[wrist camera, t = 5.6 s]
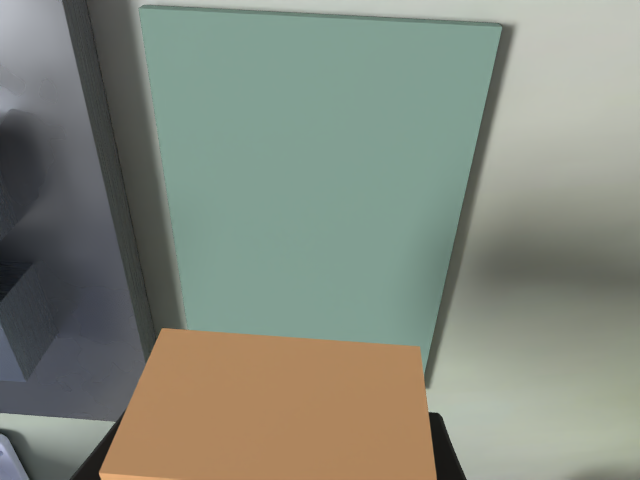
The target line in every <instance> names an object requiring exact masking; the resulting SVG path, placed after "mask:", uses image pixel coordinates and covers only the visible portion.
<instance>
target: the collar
mask: <svg viewBox="0 0 640 480" xmlns="http://www.w3.org/2000/svg"><path fill="white" fill-rule="evenodd" d="M99 475H100V478H101V480H437V476H436V468H435V461H434V453H433V445H432V437H431V429H430V421H429V413H428V405H427V398H426V390H425V382H424V374H423V366H422V358H421V350H420V346H408V345H394V344H380V343H366V342H352V341H338V340H323V339H309V338H295V337H281V336H267V335H253V334H239V333H225V332H211V331H197V330H183V329H168V328H162V329H161V331H160V333H159V336H158V338H157V340H156V343H155V345H154V347H153V350H152V352H151V354H150V356H149V359H148V361H147V363H146V366H145V368H144V370H143V373H142V375H141V377H140V379H139V382H138V384H137V386H136V389H135V391H134V393H133V395H132V398H131V400H130V402H129V405H128V407H127V409H126V412H125V414H124V416H123V418H122V421H121V423H120V425H119V428H118V430H117V432H116V434H115V437H114V439H113V441H112V444H111V446H110V448H109V451H108V453H107V455H106V457H105V460H104V462H103V464H102V467H101V469H100V471H99Z"/></svg>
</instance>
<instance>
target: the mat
mask: <svg viewBox="0 0 640 480" xmlns="http://www.w3.org/2000/svg"><path fill="white" fill-rule="evenodd" d="M139 15H140V21H141V28H142V34H143V41H144V47H145V54H146V60H147V67H148V73H149V80H150V86H151V93H152V100H153V106H154V113H155V119H156V126H157V132H158V139H159V145H160V152H161V158H162V165H163V171H164V178H165V184H166V191H167V197H168V204H169V210H170V217H171V223H172V230H173V236H174V243H175V249H176V256H177V262H178V269H179V275H180V282H181V288H182V295H183V301H184V308H185V314H186V321H187V328H188V330H197V331H211V332H225V333H239V334H253V335H267V336H281V337H295V338H309V339H323V340H338V341H352V342H366V343H380V344H394V345H408V346H420V350H421V358H422V366H423V374H424V373H425V369H426V364H427V360H428V355H429V351H430V346H431V342H432V337H433V333H434V329H435V324H436V320H437V315H438V311H439V306H440V302H441V297H442V293H443V289H444V284H445V280H446V275H447V271H448V266H449V262H450V257H451V253H452V249H453V244H454V240H455V235H456V231H457V226H458V222H459V217H460V213H461V209H462V204H463V200H464V195H465V191H466V186H467V182H468V178H469V173H470V169H471V164H472V160H473V155H474V151H475V146H476V142H477V138H478V133H479V129H480V124H481V120H482V115H483V111H484V106H485V102H486V98H487V93H488V89H489V84H490V80H491V75H492V71H493V66H494V62H495V58H496V53H497V49H498V44H499V40H500V35H501V31H502V26H501V25H500V24H499V23H484V22H465V21H445V20H426V19H406V18H387V17H368V16H348V15H329V14H309V13H290V12H271V11H251V10H232V9H213V8H193V7H174V6H154V5H143V6H141V7H140V8H139Z"/></svg>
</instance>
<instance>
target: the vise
mask: <svg viewBox="0 0 640 480" xmlns="http://www.w3.org/2000/svg"><path fill="white" fill-rule="evenodd" d="M155 343H156V339H155V334H154V329H153V324H152V319H151V314H150V310H149V305H148V300H147V295H146V290H145V285H144V280H143V276H142V271H141V266H140V261H139V256H138V251H137V246H136V242H135V237H134V232H133V227H132V222H131V217H130V212H129V208H128V203H127V198H126V193H125V188H124V183H123V178H122V174H121V169H120V164H119V159H118V154H117V149H116V145H115V140H114V135H113V130H112V125H111V120H110V115H109V111H108V106H107V101H106V96H105V91H104V86H103V81H102V77H101V72H100V67H99V62H98V57H97V52H96V47H95V43H94V38H93V33H92V28H91V23H90V18H89V13H88V9H87V4H86V0H0V413H9V414H22V415H35V416H48V417H62V418H75V419H88V420H101V421H114V422H116V421H117V420H118V419H119V417H120V416H121V415H122V413H123V412H124V411H125V409H126V408H127V407H128V405H129V402H130V400H131V398H132V395H133V393H134V391H135V389H136V386H137V384H138V382H139V379H140V377H141V375H142V373H143V370H144V368H145V366H146V363H147V361H148V359H149V356H150V354H151V352H152V350H153V347H154V345H155Z"/></svg>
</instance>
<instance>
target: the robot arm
mask: <svg viewBox="0 0 640 480" xmlns="http://www.w3.org/2000/svg"><path fill="white" fill-rule="evenodd" d="M126 409H127V408H126ZM126 409H125V411H124V412H123V413H122V415H121V416H120V417H119V419H118V420H117V421H116V423H115V424H114V425H113V426H112V428H111V429H110V430H109V432H108V433H107V434H106V436H105V437H104V438H103V439H102V441H101V442H100V443H99V444H98V446H97V447H96V448H95V449H94V451H93V452H92V453H91V454H90V456H89V457H88V458H87V459H86V460H85V462H84V463H83V464H82V465H81V466H80V468H79V469H78V470H77V471H76V472H75V474H74V475H73V476H72V477H71V478H70V480H101V478H100V475H99V471H100V469H101V467H102V464H103V462H104V460H105V457H106V455H107V453H108V451H109V448H110V446H111V444H112V441H113V439H114V437H115V434H116V432H117V430H118V428H119V425H120V423H121V421H122V418H123V416H124V414H125V412H126ZM428 413H429V421H430V429H431V437H432V445H433V453H434V461H435V468H436V476H437V480H467V479H466V477H465V475H464V472H463V470H462V468H461V465H460V463H459V461H458V458H457V456H456V453H455V451H454V448H453V446H452V443H451V441H450V438H449V435H448V433H447V430H446V427H445V424H444V421H443V418H442V416H441V415H440V414H438V413H432V412H428ZM0 480H29V478H28V476H27V474H26V472H25V470H24V468H23V466H22V464H21V463H20V461H19V459H18V457H17V455H16V453H15V451H14V449H13V447H12V445H11V443H10V441H9V439H8V438H7V437H6V436H4V435H2V434H0Z"/></svg>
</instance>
